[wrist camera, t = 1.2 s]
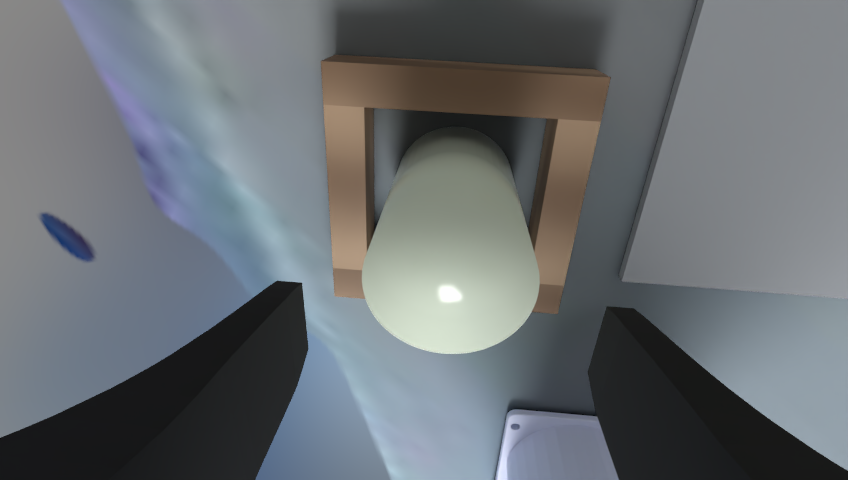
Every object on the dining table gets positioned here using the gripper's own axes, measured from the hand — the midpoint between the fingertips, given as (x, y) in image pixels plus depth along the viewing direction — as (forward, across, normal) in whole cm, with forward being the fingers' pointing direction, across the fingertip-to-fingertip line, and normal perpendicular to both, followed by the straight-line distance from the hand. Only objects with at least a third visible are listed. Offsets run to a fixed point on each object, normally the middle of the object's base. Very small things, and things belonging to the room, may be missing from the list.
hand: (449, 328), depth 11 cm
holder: (+10, 0, 0) cm, 10 cm away
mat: (+10, -14, -2) cm, 17 cm away
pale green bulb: (+10, 0, 0) cm, 10 cm away
